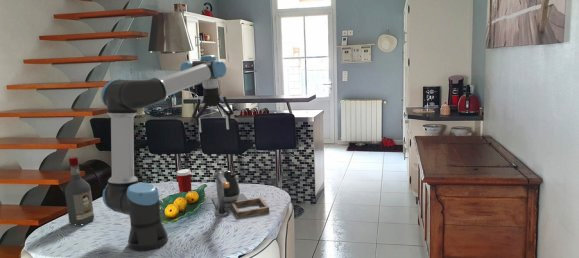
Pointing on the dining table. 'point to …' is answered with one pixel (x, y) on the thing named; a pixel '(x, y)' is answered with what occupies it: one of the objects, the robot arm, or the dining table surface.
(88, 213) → the liquor
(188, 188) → the paper cup
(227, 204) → the mat
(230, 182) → the dark grey rounded cone
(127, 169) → the robot arm
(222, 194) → the post
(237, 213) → the cradle
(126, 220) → the dining table surface
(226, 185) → the clip
